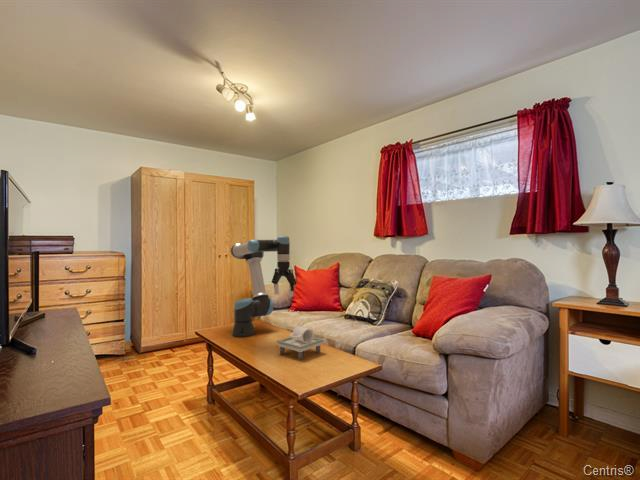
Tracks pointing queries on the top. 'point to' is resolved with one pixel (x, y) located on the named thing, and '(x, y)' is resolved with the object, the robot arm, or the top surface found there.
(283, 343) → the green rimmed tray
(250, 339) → the top surface
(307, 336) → the mug
